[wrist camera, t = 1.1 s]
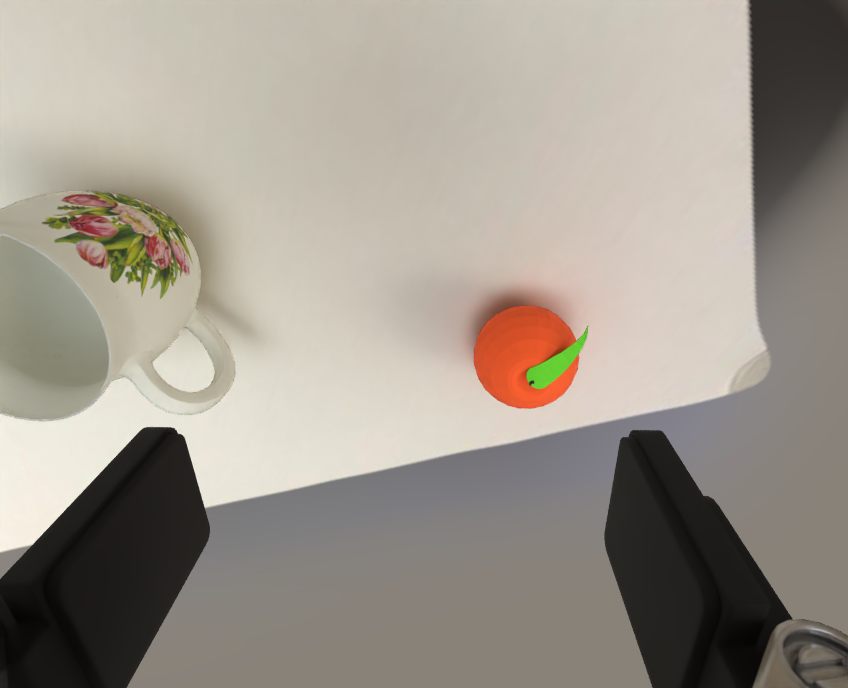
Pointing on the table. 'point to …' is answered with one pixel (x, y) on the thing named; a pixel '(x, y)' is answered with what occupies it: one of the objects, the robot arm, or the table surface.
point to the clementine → (527, 356)
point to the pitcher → (97, 305)
